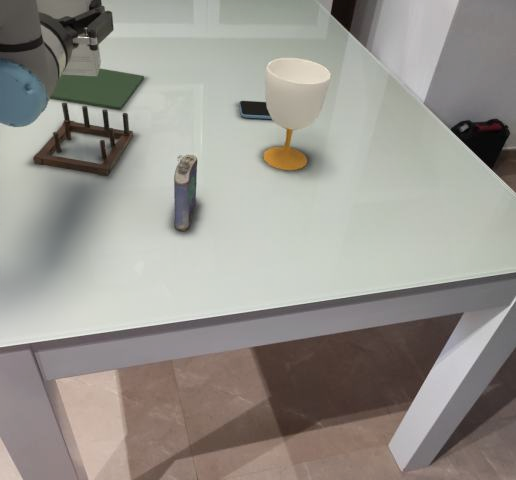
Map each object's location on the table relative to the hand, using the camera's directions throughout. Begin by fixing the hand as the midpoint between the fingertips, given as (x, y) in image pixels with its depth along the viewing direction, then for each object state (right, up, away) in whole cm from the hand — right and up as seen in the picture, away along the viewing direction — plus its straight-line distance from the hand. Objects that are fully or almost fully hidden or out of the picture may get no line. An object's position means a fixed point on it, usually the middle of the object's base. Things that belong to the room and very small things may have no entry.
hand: (71, 0), depth 84 cm
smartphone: (+34, -3, +33) cm, 48 cm away
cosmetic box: (-1, -10, +4) cm, 10 cm away
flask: (+18, -35, +4) cm, 39 cm away
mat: (-7, +2, +32) cm, 33 cm away
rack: (-2, -19, +14) cm, 24 cm away
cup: (+36, -19, +20) cm, 46 cm away
